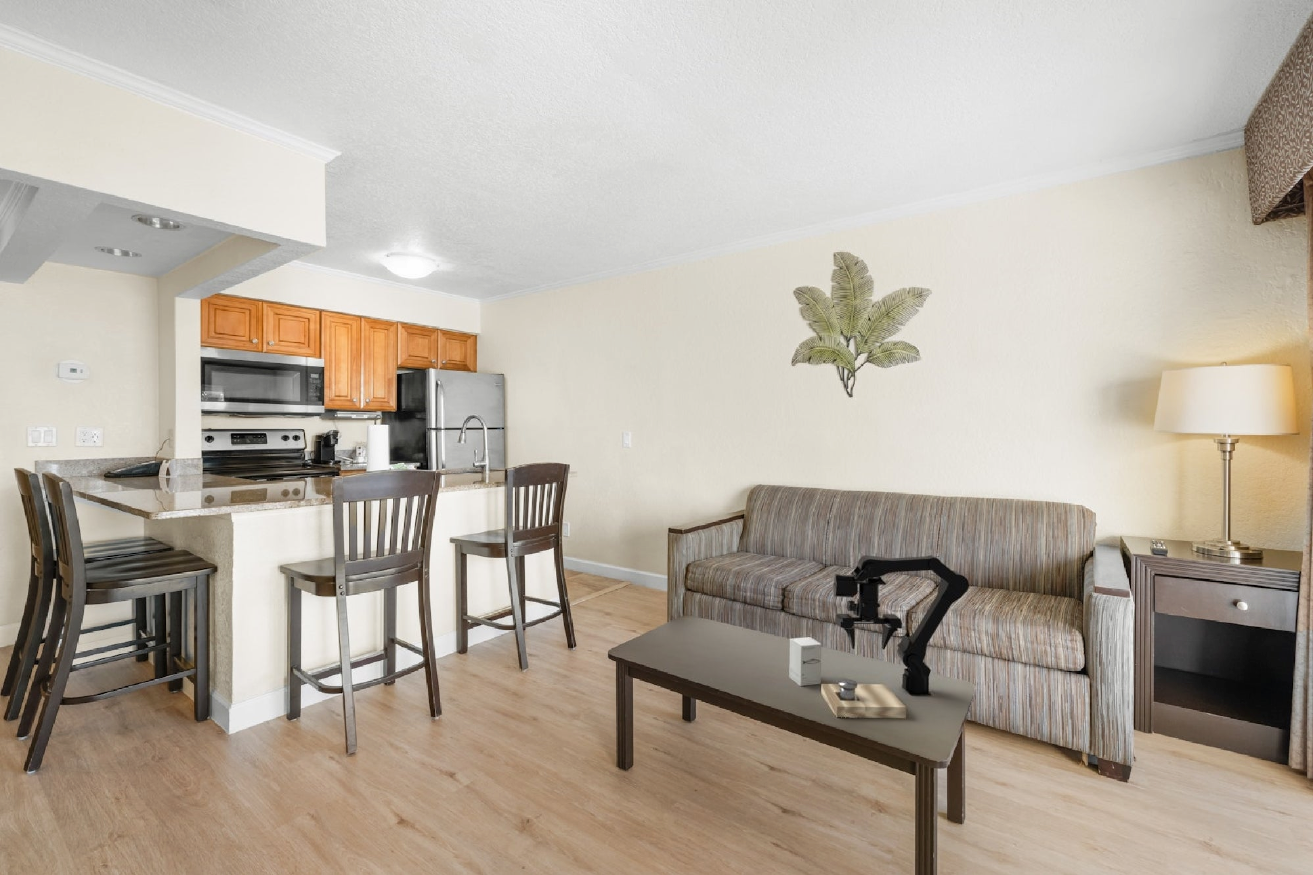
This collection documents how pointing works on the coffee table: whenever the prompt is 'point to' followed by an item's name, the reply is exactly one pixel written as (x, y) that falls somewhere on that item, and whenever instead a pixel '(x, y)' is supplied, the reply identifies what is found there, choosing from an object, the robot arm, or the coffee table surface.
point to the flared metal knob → (847, 689)
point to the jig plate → (864, 702)
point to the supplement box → (805, 661)
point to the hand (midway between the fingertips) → (868, 648)
